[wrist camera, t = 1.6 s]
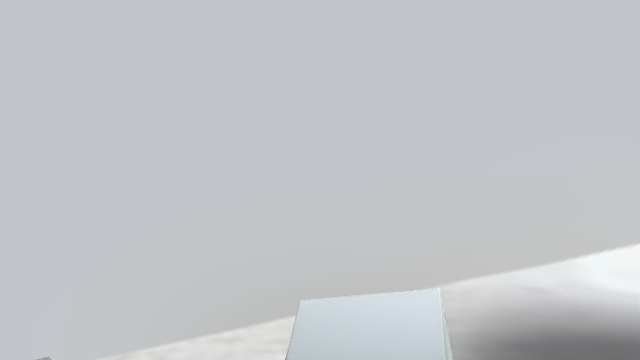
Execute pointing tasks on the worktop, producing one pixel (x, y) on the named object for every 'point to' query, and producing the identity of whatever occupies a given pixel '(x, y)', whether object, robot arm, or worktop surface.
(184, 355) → the worktop surface
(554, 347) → the worktop surface
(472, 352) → the worktop surface
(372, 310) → the supplement box
